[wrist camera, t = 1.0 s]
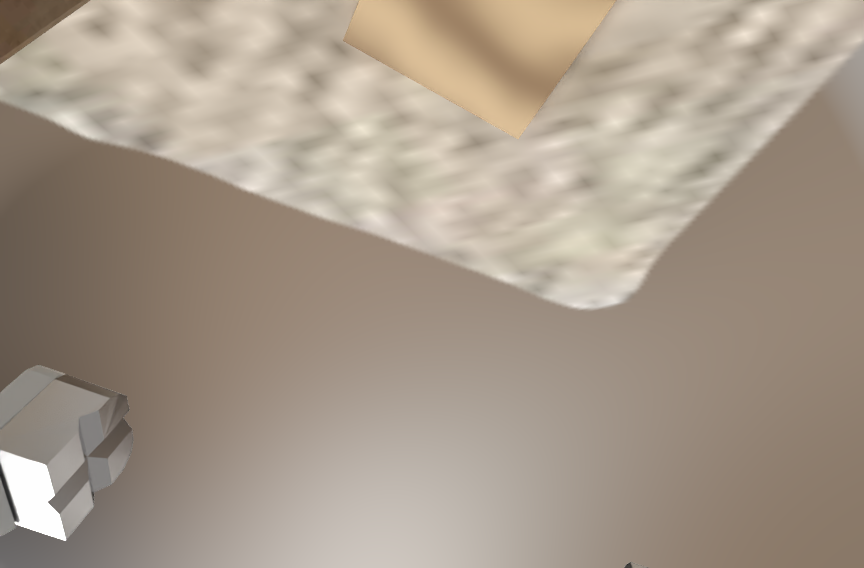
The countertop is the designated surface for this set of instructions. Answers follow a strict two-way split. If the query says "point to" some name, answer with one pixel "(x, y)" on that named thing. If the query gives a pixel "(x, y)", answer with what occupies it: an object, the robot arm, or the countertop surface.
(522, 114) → the oak board
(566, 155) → the countertop surface
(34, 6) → the wooden block
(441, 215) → the countertop surface
